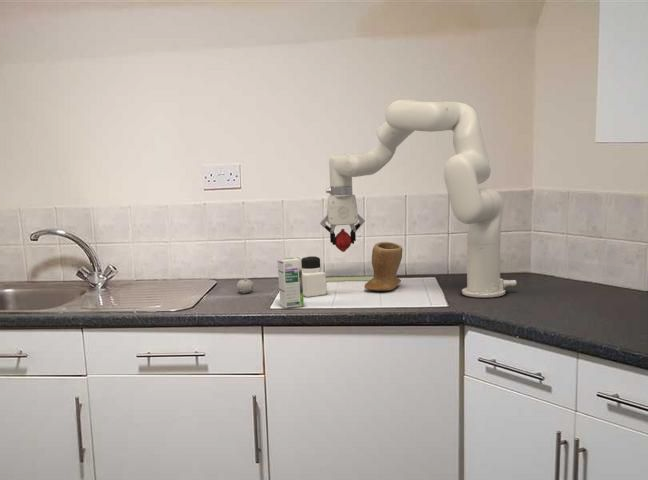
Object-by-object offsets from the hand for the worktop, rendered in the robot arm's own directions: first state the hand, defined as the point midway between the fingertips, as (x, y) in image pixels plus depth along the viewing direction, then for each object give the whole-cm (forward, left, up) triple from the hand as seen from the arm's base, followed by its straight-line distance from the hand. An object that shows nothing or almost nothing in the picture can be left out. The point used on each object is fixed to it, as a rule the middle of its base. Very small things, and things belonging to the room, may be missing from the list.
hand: (343, 243), depth 262 cm
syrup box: (+22, +37, -13) cm, 45 cm away
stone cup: (-10, +21, -13) cm, 27 cm away
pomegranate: (0, 0, -3) cm, 3 cm away
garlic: (+35, +13, -13) cm, 39 cm away
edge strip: (0, +1, -13) cm, 13 cm away
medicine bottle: (+14, +22, -13) cm, 29 cm away
